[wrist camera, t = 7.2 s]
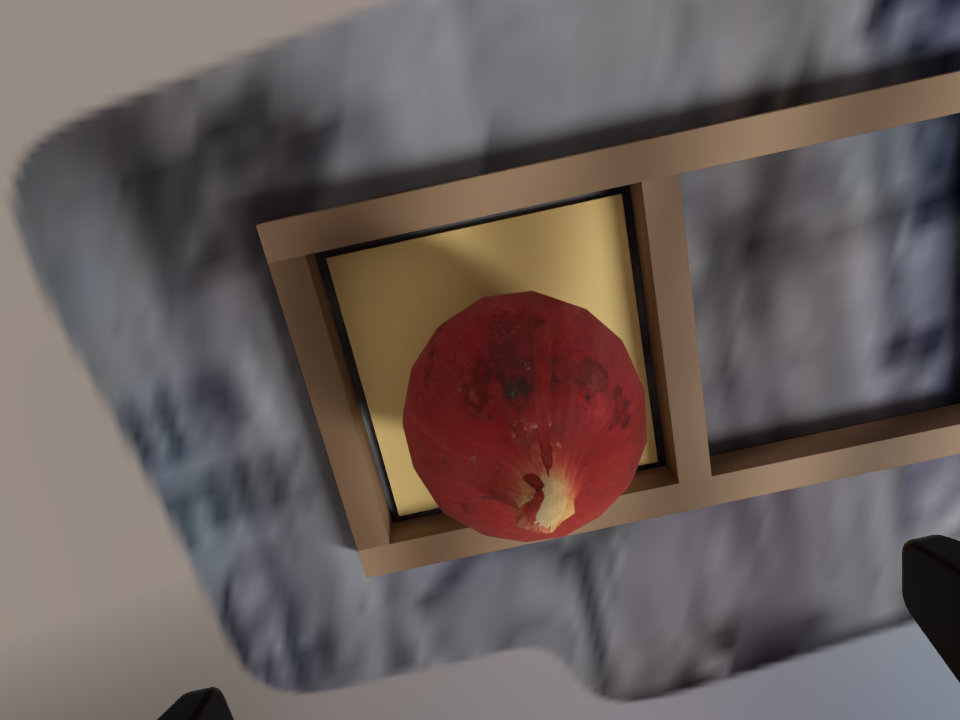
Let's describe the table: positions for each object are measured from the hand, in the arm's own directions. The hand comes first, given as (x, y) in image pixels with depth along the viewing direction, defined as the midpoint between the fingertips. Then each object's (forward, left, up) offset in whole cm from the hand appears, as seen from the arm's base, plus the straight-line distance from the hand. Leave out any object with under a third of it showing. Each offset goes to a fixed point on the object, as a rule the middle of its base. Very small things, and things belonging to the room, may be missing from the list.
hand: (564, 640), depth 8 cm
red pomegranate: (0, 0, -11) cm, 11 cm away
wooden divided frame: (-5, 0, -11) cm, 13 cm away
